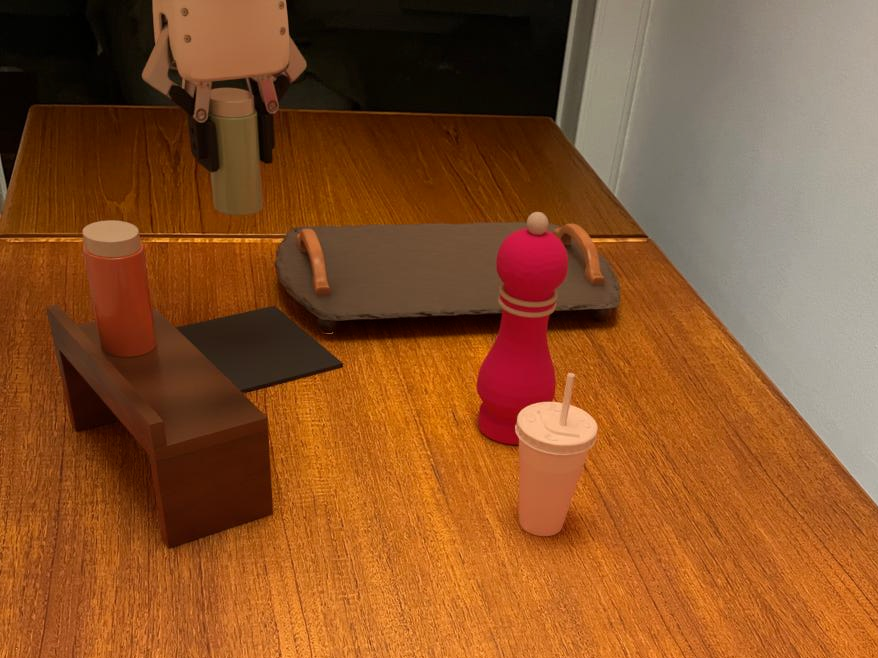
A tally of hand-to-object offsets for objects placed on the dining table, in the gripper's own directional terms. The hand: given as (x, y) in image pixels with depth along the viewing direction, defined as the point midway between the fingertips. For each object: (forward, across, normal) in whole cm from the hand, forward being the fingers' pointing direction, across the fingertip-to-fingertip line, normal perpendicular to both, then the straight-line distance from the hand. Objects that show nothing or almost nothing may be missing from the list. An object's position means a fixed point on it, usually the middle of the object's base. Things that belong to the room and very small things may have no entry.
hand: (234, 160), depth 88 cm
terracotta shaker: (+9, +15, +10) cm, 20 cm away
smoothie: (+19, -8, +37) cm, 42 cm away
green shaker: (+4, 0, 0) cm, 4 cm away
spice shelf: (+18, +15, +15) cm, 28 cm away
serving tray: (+19, -27, -3) cm, 33 cm away
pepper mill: (+19, -15, +24) cm, 34 cm away
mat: (+18, 0, 0) cm, 18 cm away
